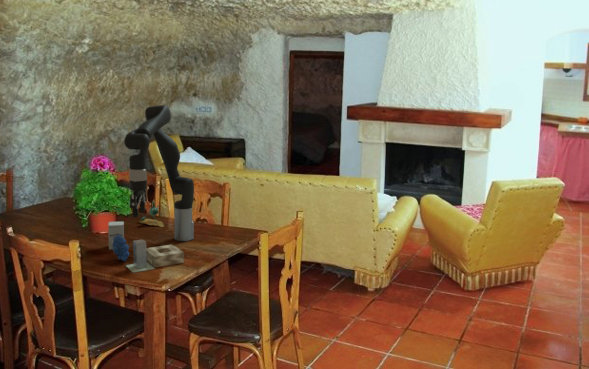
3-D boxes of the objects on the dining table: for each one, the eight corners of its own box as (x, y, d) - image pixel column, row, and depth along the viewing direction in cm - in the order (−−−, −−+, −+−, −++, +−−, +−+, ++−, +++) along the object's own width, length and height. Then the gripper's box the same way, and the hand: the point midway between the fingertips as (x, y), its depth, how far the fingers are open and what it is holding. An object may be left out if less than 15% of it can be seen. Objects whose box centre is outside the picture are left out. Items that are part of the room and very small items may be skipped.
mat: (146, 262, 273) (146, 261, 273) (154, 269, 265) (154, 268, 265) (125, 266, 268) (125, 265, 267) (133, 272, 259) (132, 271, 259)
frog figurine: (148, 219, 347) (150, 196, 344) (169, 228, 338) (171, 204, 334) (135, 222, 340) (137, 198, 336) (156, 231, 330) (158, 206, 326)
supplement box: (108, 250, 289) (107, 225, 287) (109, 245, 296) (108, 221, 294) (124, 249, 291) (123, 224, 289) (124, 244, 298) (123, 220, 296)
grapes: (105, 259, 276) (105, 234, 274) (118, 256, 281) (117, 231, 279) (120, 265, 269) (119, 239, 266) (132, 261, 274) (132, 236, 271)
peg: (143, 264, 269) (142, 239, 267) (146, 267, 266) (146, 242, 263) (133, 266, 267) (133, 240, 264) (136, 269, 263) (136, 243, 261)
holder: (172, 254, 286) (172, 244, 285) (183, 262, 275) (183, 252, 274) (144, 258, 278) (144, 248, 278) (155, 267, 267) (155, 256, 266)
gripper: (135, 175, 265) (136, 210, 269) (123, 181, 251) (124, 218, 255) (151, 176, 265) (152, 211, 268) (140, 182, 251) (141, 219, 254)
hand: (139, 214), depth 261 cm, fingers open, 8 cm apart
